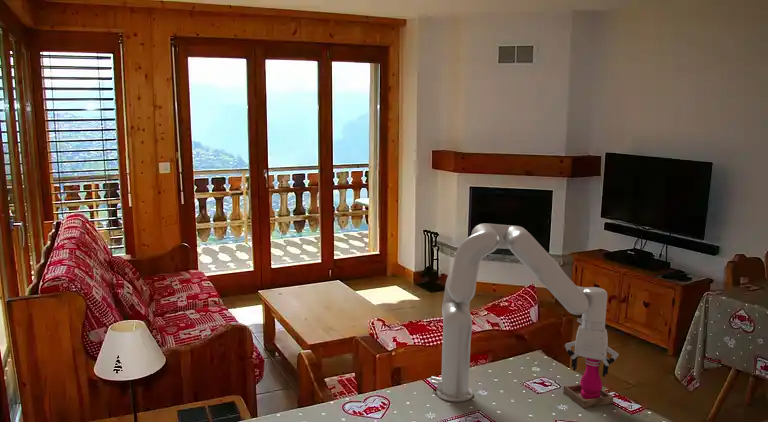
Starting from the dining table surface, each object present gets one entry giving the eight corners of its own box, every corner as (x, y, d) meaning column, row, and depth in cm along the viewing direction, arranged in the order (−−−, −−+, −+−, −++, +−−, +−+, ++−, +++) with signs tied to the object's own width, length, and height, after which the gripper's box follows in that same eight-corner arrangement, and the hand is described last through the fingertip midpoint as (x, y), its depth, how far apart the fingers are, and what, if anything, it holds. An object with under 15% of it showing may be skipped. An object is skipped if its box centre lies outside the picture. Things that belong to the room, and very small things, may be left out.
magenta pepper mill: (604, 402, 202) (608, 345, 199) (583, 401, 202) (587, 345, 199) (597, 392, 209) (601, 337, 206) (576, 391, 209) (580, 337, 206)
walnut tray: (583, 408, 198) (583, 401, 198) (563, 393, 209) (563, 386, 209) (612, 404, 202) (613, 397, 201) (591, 389, 212) (592, 382, 212)
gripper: (564, 322, 202) (561, 370, 205) (618, 332, 194) (614, 382, 197) (569, 316, 209) (565, 363, 211) (621, 325, 201) (617, 373, 203)
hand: (589, 372), depth 204 cm, fingers open, 9 cm apart
